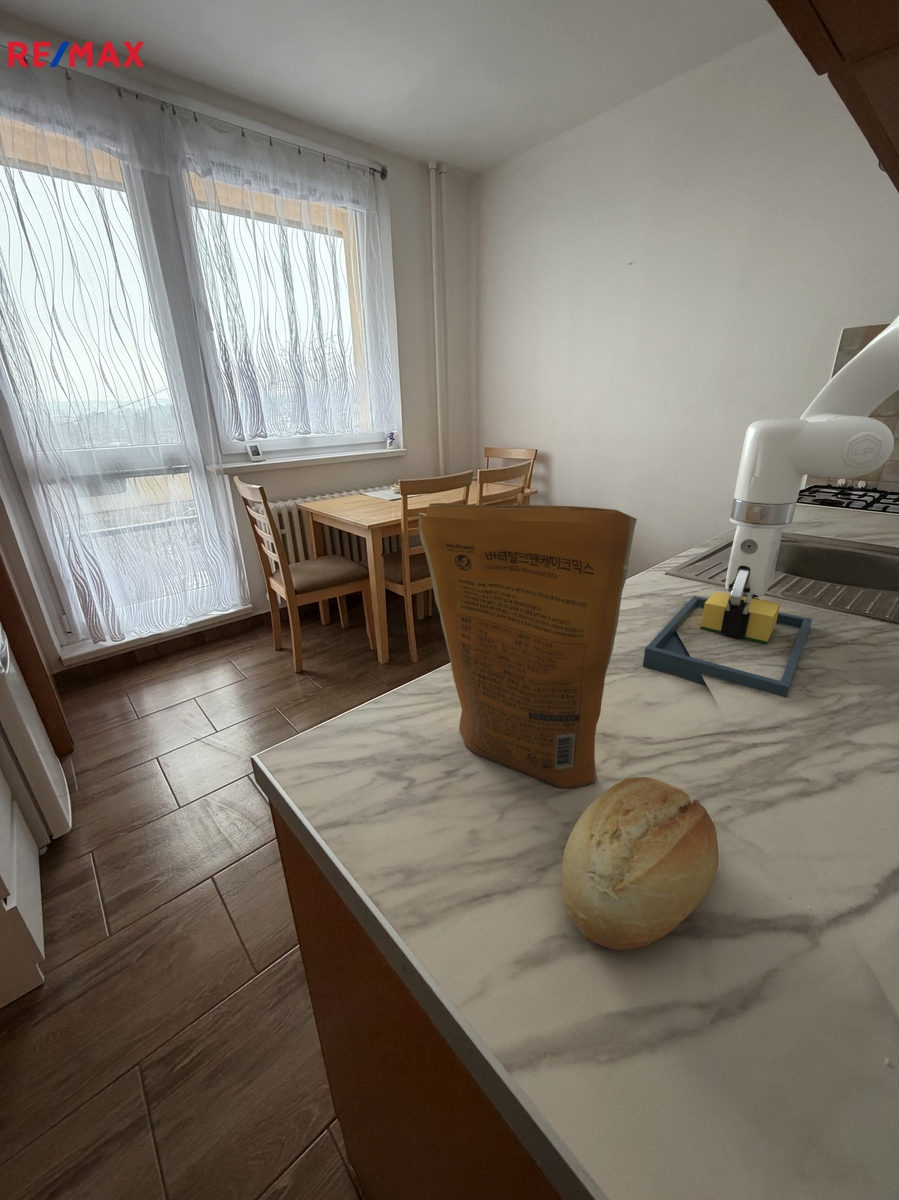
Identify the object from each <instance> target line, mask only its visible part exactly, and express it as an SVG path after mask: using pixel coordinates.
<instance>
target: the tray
mask: <svg viewBox="0 0 899 1200" xmlns="http://www.w3.org/2000/svg"><path fill="white" fill-rule="evenodd" d="M708 599H709V598H707V597H703V596H698V595H693V596H692V598H691V599H690V600H688V601H687V603H686V604H685V605H684V606H683V607H682V608H681V609H680V610H679V611H678V612H677V613H676V614H675V615H674V616H673V618H672V619H671V620H670V621H669V622H668V623H667V624H666V625H665V626H664V627H663V628H662V629H661V630H660V631H659V633H658V634H657V635H656V636H655V637H653V639H652V640H651V641H650V642H649V643H648V644H647V645H646V647H645V648H644V653H643V662H642V667H644V668H647V669H651V670H654V671H657V672H660V673H664V674H667V675H671V676H673V677H677V678H681V679H683V680H688V681H690V682H695V683H697V684H701V685H704V686H708V685H707V682H706V680H705V679H704V677H703V676H702V675H704V676H705V675H706V676H708V677H713V678H717V679H718V680H719V679H720V680H722V681H726V682H731V683H734V684H738V685H740V686H743V687H747V688H751V689H755V690H758V691H762V692H765V693H769V694H772V695H775V696H779V697H783V698H787V697H788V694H789V691H790V688H791V685H792V683H793V679H794V677H795V673H796V670H797V667H798V665H799V661H800V659H801V655H802V653H803V650H804V646H805V644H806V641H807V637H808V634H809V633H810V629H811V625H812V622H813V618H810V617H806V616H799V615H794V614H790V613H784V612H780V611H779V612H778V616H777V621H776V624H780V625H784V626H791V627H795V628H799V631H798V634H797V637H796V639H795V642H794V644H793V647H792V650H791V652H790V655H789V658H788V660H787V662H786V666H785V668H784V671H783V673H782V676H781V679H780V680H778V679H774V678H770V677H767V676H764V675H760V674H756V673H752V672H749V671H745V670H741V669H737V668H735V667H730V666H726V665H723V664H719V663H715V662H711V661H707V660H704V659H700V658H696V657H693V656H691V655H690V653H689V651H688V650H687V648H686V647H685V644H684V643H683V641H682V639H681V637H680V636H679V634H678V632H677V630H678V629H679V628H680V627H681V626H682V625H683V624H684V622H685V621H686V620H687V619H688V618H689V616H691V614H693V612H694V611H695V610H696V608H697V607H698V608H703V609H704V605H705V602H706V601H707V600H708Z"/></svg>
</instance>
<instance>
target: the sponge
mask: <svg viewBox="0 0 899 1200" xmlns="http://www.w3.org/2000/svg"><path fill="white" fill-rule="evenodd" d="M729 594H730V593H726V592H721V591H717V590H716V591H714V592H713V593H712V594H711V595H710V597H709V598H708V600H707V601H706V602H705V605H704V608H703V611H702V618H701V624H700V630H703V631H707V632H711V633H715V634H720V635H724V636H728V637H730V636H729V635H725V634H722V633H721V627H722V622H723V617H724V612H725V609H726V606H727V602H728V598H729ZM746 598H747V597H743V598H742V599H743V600H744V601H745V602H746ZM754 598H755V597H754ZM754 598H752V599H751V603H750V607H749V610H748V613H750V617H749V621H748V626H747V631H746V635H745V637H744V638H738V637H735V638H736V639H740V640H745V641H749V642H754V643H758V644H761V645H766V646H767V645H768V643H769V642H770V639H771V638H772V635H773V634H774V632H775V628H776V625H777V623H776V621H777V616H778V612H780V607H781V603H780V602H775V601H769V600H764V599H760V598H758V599H754ZM731 637H732V638H734V637H733V636H731Z"/></svg>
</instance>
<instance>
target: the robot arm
mask: <svg viewBox="0 0 899 1200" xmlns="http://www.w3.org/2000/svg"><path fill="white" fill-rule="evenodd" d="M897 391H899V315H898V316H896V318H895V319H894V320H893V321H892V322H891V323H890V324H889V325H888V326H887V327H886V328H885V329H884V330H882V331H881V332H880V333H879V334H877V336H875V337H874V338H873V339H872V340H871V341H869V343H868V344H867V345H866V346H865V347H864V348H862V350H860V351H859V352H858V353H857V354H856V355H855V356H854V357H852V358H851V360H849V361H848V362H847V363H846V364H845V365H843V367H842V368H841V369H840V370H838V372H836V374H835V375H834V376H833V377H832V378H831V379H829V380H828V382H827V383H826V384H825V385H824V386H823V388H822V389H821V390H820V391H819V392H818V393H817V395H816V396H815V398H814V399H813V400H812V401H811V402H810V404H809V406H808V407H807V408H806V409H805V411H804V412H803V413H802V414H801V416H800V417H799V418H769V419H767V418H766V419H760V420H756V421H753V422H752V423H751V424H750V425H749V426H748V427H747V429H746V431H745V435H744V440H743V446H742V451H741V456H740V462H739V467H738V472H737V478H736V483H735V488H734V494H733V499H732V505H731V510H730V516H729V522H730V523H731V524H734V525H736V528H735V532H734V537H733V542H732V546H731V550H730V555H729V560H728V566H727V571H726V577H725V584H724V585H725V587H724V588H725V590H726V591H727V592H728V594H729V598H728V602H727V606H726V609H725V612H724V617H723V622H722V627H721V633H722V634H721V635H723V634H725V635H724V636H727V635H729V636H728V637H732V636H733V637H732V638H736V637H738V638H737V639H740V638H744V637H745V635H746V631H747V626H748V621H749V617H750V613H748V610H749V607H750V603H751V599H752V598H754V599H759V598H762V597H763V596H765V594H766V593H767V592H768V591H769V589H770V587H771V586H772V583H773V581H774V578H775V573H776V568H777V562H778V556H779V552H780V547H781V541H782V535H783V529H786V528H790V527H791V526H792V524H793V520H794V515H795V512H796V507H797V503H798V499H799V495H800V490H801V486H802V481H803V477H804V476H815V477H816V476H817V477H818V476H819V477H824V478H825V477H827V478H835V479H854V478H859V477H862V476H865V475H868V474H870V473H872V472H874V471H876V470H878V469H879V468H880V467H882V466H883V465H884V464H885V463H886V462H887V461H888V459H889V458H890V457H891V455H892V453H893V450H894V446H895V438H894V435H893V432H892V430H891V429H890V428H889V427H888V425H886V424H885V423H884V422H882V421H880V420H879V419H875V418H873V417H869V416H870V415H871V414H872V412H874V411H875V410H876V409H877V408H878V407H879V405H881V404H882V403H883V402H885V400H887V399H888V398H889V397H890V396H892V395H893V394H894V393H896V392H897ZM743 597H747V598H746V602H745V601H744V600H743V599H742V598H743Z"/></svg>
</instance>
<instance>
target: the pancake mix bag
mask: <svg viewBox="0 0 899 1200" xmlns="http://www.w3.org/2000/svg"><path fill="white" fill-rule="evenodd" d="M637 520H638V518H636V517H633V516H631V515H629V514H627V513H624V512H622V511H620V510H618V509H614V508H613V509H612V508H603V507H591V506H589V507H588V506H576V505H575V506H574V505H551V504H549V505H547V504H507V505H482V504H463V503H459V504H458V503H450V502H449V503H447V502H433V503H432V502H431V503H429V504H428V507H427V510H426V512H425V513H423V512H418V532H419V538H420V542H421V545H422V547H423V550H424V553H425V557H426V561H427V567H428V571H429V575H430V579H431V584H432V589H433V595H434V601H435V604H436V607H437V610H438V613H439V617H440V623H441V627H442V632H443V636H444V639H445V645H446V648H447V652H448V656H449V661H450V667H451V672H452V676H453V678H452V679H453V682H454V687H455V689H456V693H457V696H458V700H459V704H460V707H461V713H460V719H459V725H458V730H459V732H460V735H461V737H462V740H463V743H464V747H466V748H467V749H468V750H469V751H470V752H471V753H472V754H473V755H476V756H479V757H481V758H484V759H487V760H489V761H491V762H494V763H496V764H499V765H501V766H504V767H506V768H509V769H512V770H514V771H517V772H520V773H522V774H525V775H527V776H530V777H533V778H535V779H537V780H539V781H542V782H543V783H546V784H548V785H551V786H553V787H555V788H558V789H574V788H577V787H578V788H579V787H582V786H587V785H590V784H592V783H595V782H598V780H599V779H598V775H597V767H596V758H595V757H596V732H597V725H598V723H599V718H600V716H601V712H602V701H603V695H604V689H605V683H606V682H605V681H606V675H607V671H608V669H609V665H610V663H611V662H610V661H611V658H612V654H613V650H614V645H615V639H616V636H617V635H616V634H617V629H618V625H619V620H620V619H619V617H620V611H621V602H622V597H623V596H622V595H623V591H624V588H625V584H626V581H627V579H628V573H629V565H630V558H631V556H630V555H631V552H632V544H633V539H634V534H635V527H636V523H637Z"/></svg>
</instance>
